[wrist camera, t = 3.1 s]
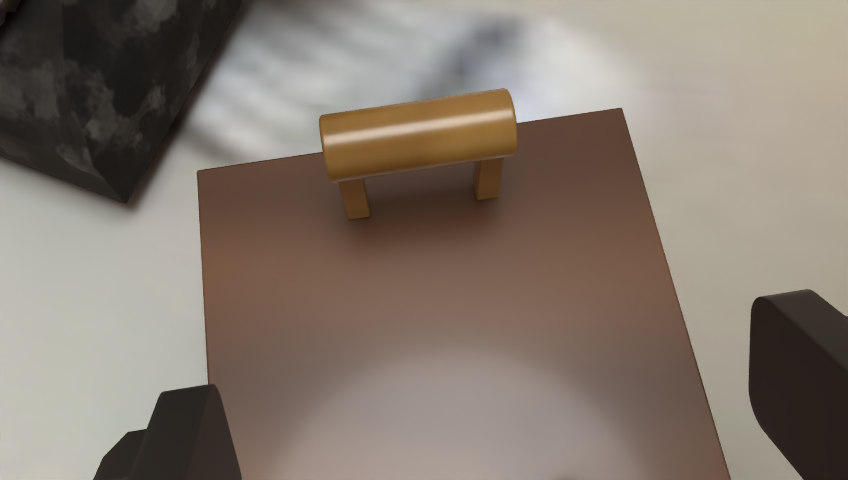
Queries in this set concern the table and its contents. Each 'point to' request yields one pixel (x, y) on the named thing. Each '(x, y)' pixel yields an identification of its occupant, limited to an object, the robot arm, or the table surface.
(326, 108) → the table surface
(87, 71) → the rotary telephone
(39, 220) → the table surface
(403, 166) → the lid
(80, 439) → the table surface
